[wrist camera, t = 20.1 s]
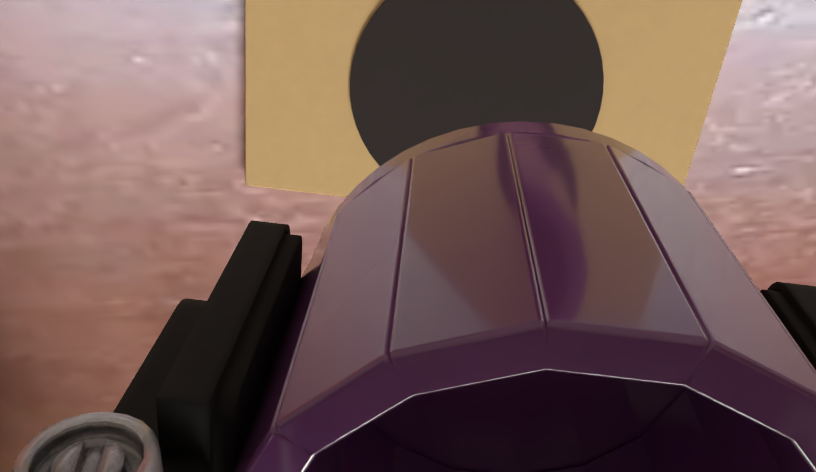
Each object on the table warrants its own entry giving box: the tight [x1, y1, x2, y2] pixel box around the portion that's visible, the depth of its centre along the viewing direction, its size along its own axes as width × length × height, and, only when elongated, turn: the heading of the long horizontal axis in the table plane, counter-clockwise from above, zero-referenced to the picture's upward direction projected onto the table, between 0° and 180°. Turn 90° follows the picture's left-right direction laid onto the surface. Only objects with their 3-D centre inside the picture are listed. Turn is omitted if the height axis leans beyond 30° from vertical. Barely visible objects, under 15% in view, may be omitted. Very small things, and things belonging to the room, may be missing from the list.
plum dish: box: [233, 121, 816, 472], centre depth 9 cm, size 7×7×5 cm
